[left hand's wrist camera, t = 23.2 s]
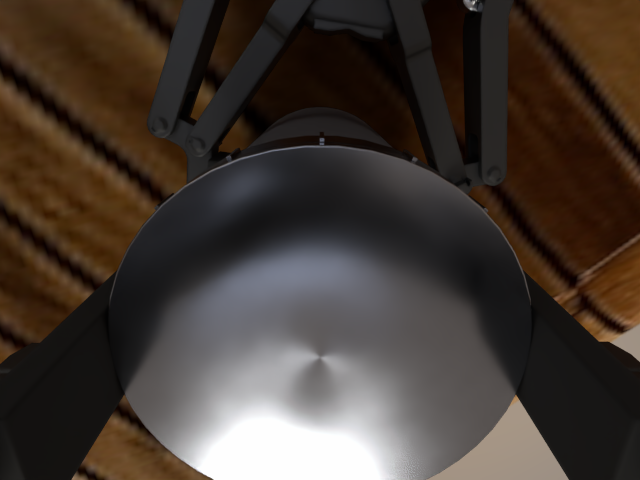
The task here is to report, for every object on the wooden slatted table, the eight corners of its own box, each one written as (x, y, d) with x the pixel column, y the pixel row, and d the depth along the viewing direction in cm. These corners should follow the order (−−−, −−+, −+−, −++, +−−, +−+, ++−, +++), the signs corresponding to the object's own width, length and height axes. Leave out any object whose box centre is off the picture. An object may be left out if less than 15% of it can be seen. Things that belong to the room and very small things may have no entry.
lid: (257, 40, 10) (245, 33, 8) (585, 278, 12) (626, 309, 10) (76, 361, 13) (42, 401, 11) (359, 500, 15) (364, 550, 13)
